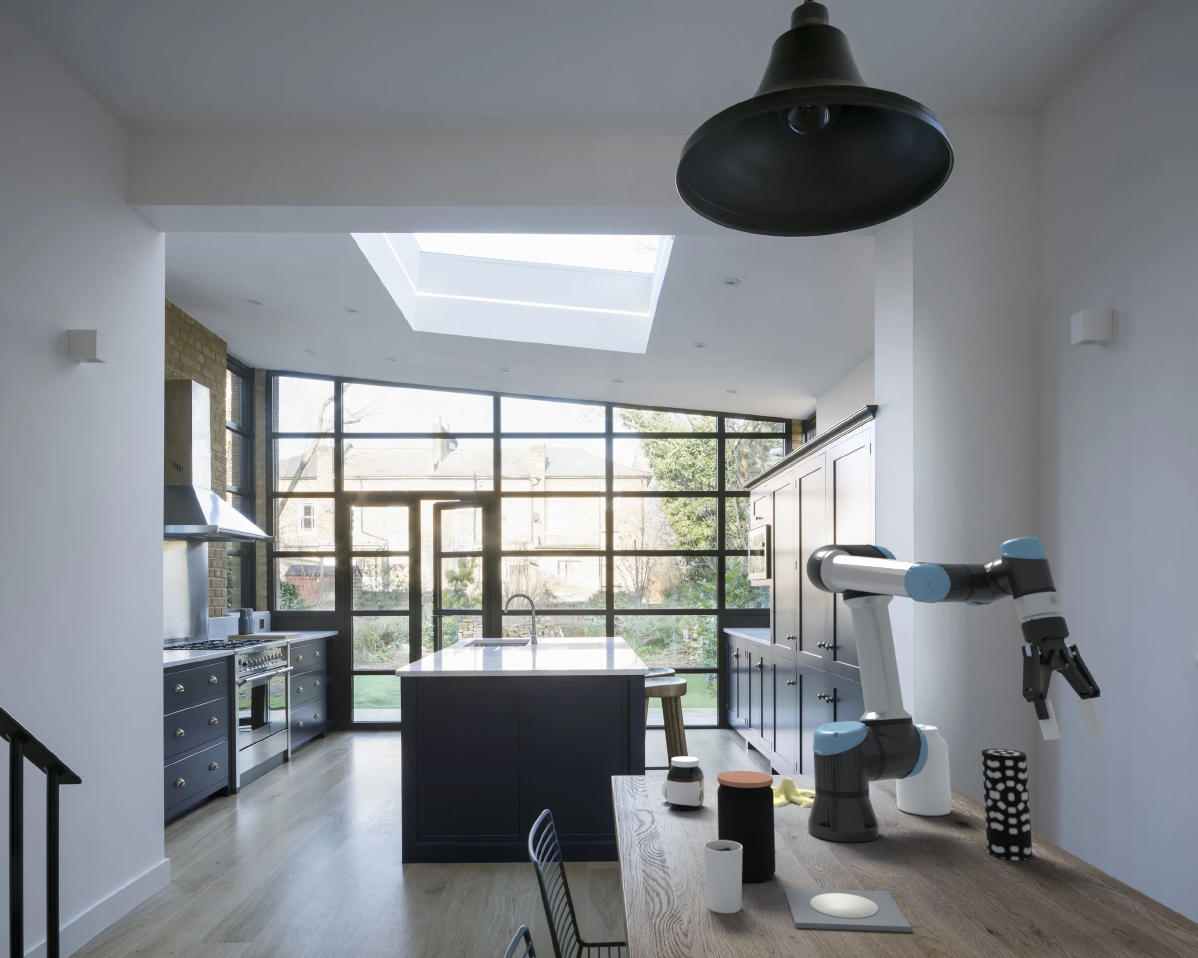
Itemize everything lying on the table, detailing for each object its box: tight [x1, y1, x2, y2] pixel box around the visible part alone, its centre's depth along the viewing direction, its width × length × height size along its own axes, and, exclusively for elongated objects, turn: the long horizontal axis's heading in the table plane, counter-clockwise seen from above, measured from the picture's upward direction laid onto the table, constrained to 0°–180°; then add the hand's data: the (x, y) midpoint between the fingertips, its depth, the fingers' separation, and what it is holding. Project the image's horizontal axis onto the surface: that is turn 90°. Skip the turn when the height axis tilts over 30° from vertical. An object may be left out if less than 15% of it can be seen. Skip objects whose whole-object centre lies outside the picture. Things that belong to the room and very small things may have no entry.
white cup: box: [703, 839, 743, 914], centre depth 147 cm, size 7×7×10 cm
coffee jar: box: [716, 770, 776, 884], centre depth 164 cm, size 11×11×18 cm
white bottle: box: [895, 723, 952, 817], centre depth 210 cm, size 12×12×20 cm
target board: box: [784, 887, 912, 933], centre depth 144 cm, size 16×18×1 cm
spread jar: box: [661, 755, 705, 812], centre depth 215 cm, size 12×11×12 cm
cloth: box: [771, 777, 815, 809], centre depth 221 cm, size 22×19×6 cm
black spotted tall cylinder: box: [981, 748, 1033, 861], centre depth 176 cm, size 8×8×20 cm
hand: (1075, 737), depth 152 cm, fingers open, 13 cm apart
